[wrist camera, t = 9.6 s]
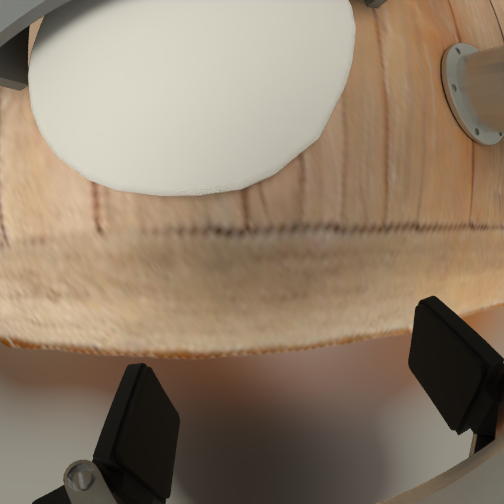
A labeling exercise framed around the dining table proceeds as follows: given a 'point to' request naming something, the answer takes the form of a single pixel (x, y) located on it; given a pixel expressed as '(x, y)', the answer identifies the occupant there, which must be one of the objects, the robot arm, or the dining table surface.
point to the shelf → (17, 33)
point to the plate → (187, 88)
